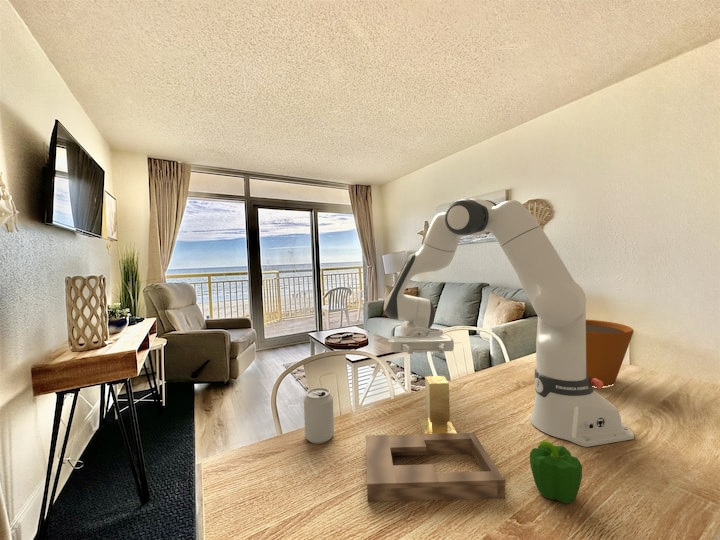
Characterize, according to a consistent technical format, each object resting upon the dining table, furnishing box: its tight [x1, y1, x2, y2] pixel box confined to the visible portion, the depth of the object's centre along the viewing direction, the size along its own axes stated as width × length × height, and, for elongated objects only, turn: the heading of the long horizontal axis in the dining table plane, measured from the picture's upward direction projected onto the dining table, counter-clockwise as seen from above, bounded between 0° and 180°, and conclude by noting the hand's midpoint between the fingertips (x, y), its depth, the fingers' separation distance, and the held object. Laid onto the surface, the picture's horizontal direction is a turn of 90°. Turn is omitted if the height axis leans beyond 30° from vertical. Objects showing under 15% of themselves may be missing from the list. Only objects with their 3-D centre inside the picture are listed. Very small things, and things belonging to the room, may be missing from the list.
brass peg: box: [419, 375, 458, 434], centre depth 81 cm, size 8×8×14 cm
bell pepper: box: [529, 440, 583, 505], centre depth 59 cm, size 8×8×10 cm
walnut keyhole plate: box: [365, 432, 506, 503], centre depth 66 cm, size 26×16×4 cm, turn 90°
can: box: [303, 387, 335, 445], centre depth 80 cm, size 8×8×12 cm
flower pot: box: [586, 319, 634, 386], centre depth 111 cm, size 24×24×20 cm
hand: (425, 351), depth 93 cm, fingers open, 8 cm apart
